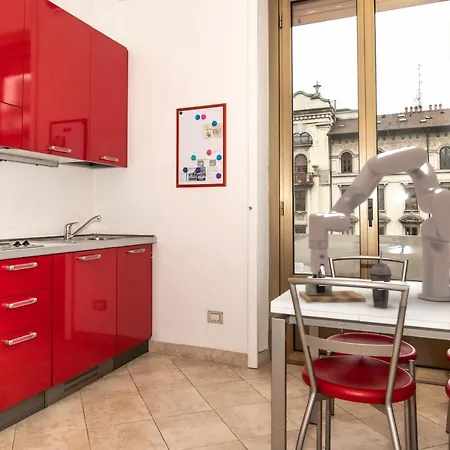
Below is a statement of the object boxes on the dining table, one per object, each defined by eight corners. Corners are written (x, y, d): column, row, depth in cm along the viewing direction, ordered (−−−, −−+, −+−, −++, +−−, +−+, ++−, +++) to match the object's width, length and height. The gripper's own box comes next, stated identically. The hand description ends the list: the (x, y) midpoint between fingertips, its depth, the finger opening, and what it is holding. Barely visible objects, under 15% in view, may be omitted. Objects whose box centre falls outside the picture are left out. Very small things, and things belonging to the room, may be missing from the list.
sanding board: (352, 294, 171) (352, 290, 171) (365, 301, 157) (365, 297, 157) (299, 295, 170) (299, 291, 170) (307, 302, 156) (307, 298, 156)
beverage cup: (389, 304, 152) (390, 249, 151) (393, 309, 145) (393, 251, 144) (368, 303, 154) (368, 249, 153) (370, 308, 147) (371, 251, 146)
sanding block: (328, 293, 166) (328, 278, 166) (331, 295, 161) (331, 280, 161) (305, 293, 166) (305, 278, 166) (308, 296, 161) (308, 280, 161)
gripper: (334, 246, 154) (334, 295, 155) (322, 243, 172) (322, 287, 172) (314, 247, 154) (314, 296, 155) (303, 243, 171) (303, 287, 172)
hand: (318, 291), depth 164 cm, fingers open, 5 cm apart
